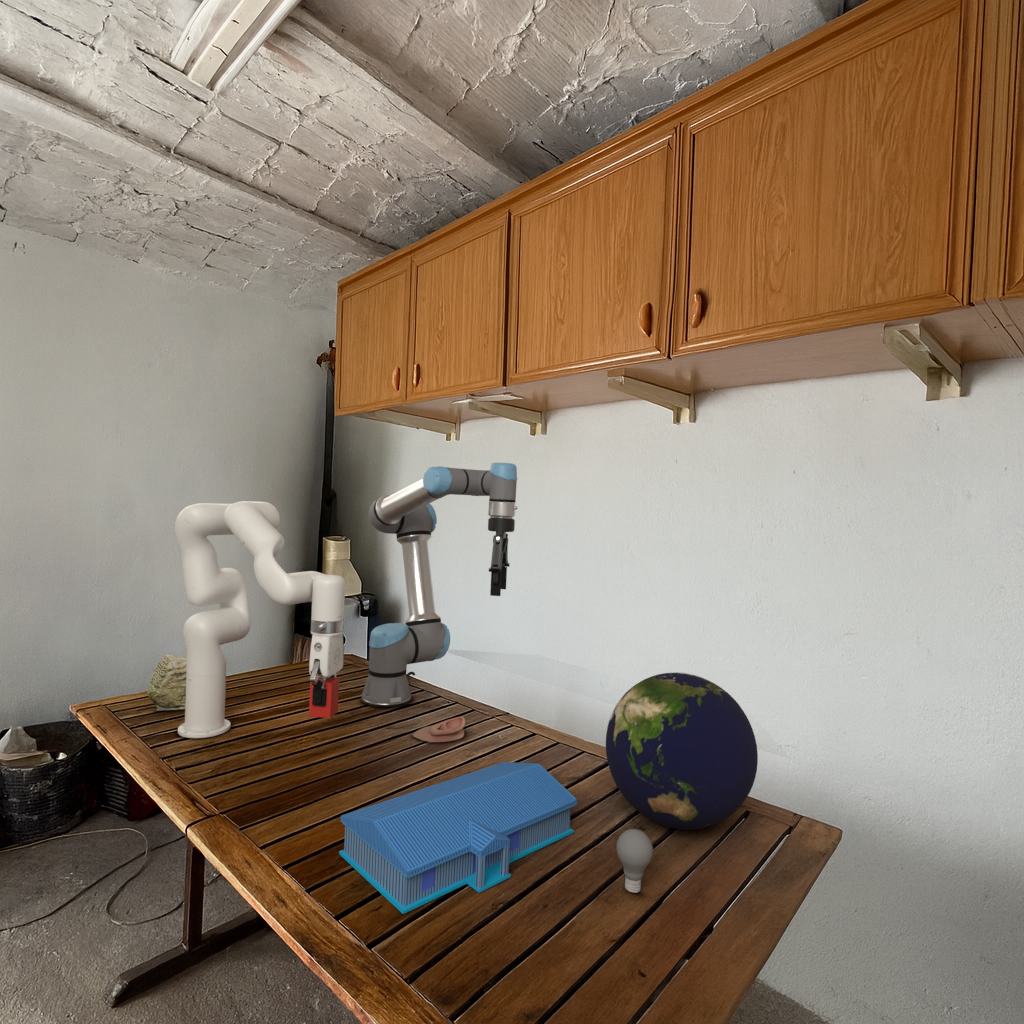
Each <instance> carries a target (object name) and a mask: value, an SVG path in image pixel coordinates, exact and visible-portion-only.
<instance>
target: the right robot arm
mask: <svg viewBox="0 0 1024 1024" xmlns="http://www.w3.org/2000/svg"><path fill="white" fill-rule="evenodd" d="M517 471H518V470H517V465H516V464H515V463H512V462H511V463H510V462H493V463H491V464H490V469H489V470H487V469H484V470H483V469H469V468H458V467H457V468H456V467H447V466H442V465H441V466H440V465H439V466H430V467H428V468H427V469H426V471H425V472H424V474H423V476H422V478H420V479H418V480H417V481H415V482H413V483H412V484H409V485H407V486H406V487H404V488H402V489H400V490H398V491H396V492H395V493H393V494H391V495H390V494H386V495H382V496H380V497H379V498H377V499H375V500H374V501H373V502H372V503H371V505H370V507H369V510H368V519H369V522H370V523H371V525H372V526H373V528H374V529H376V530H377V531H379V532H381V533H384V534H389V535H393V534H395V535H396V541H397V542H398V543H399V544H400V545H401V550H402V559H403V569H404V579H405V587H406V597H407V608H408V617H407V619H406V620H405V622H404V623H403V622H393V623H392V622H389V623H384V624H380V625H378V626H376V627H374V628H373V629H372V630H371V632H370V634H369V635H370V636H369V642H368V646H369V650H368V651H369V653H368V676H367V679H366V681H365V685H364V687H363V690H362V692H361V703H363V704H364V705H366V706H370V707H374V708H381V709H382V708H384V709H385V708H387V709H388V708H398V707H402V706H405V705H408V704H409V703H411V701H412V691H411V688H410V684H409V680H408V677H410V676H416V673H415V672H414V671H409V672H407V666H408V665H412V664H417V663H425V662H433V661H436V660H441V659H442V658H444V657H445V656H446V654H447V652H448V650H449V649H450V646H451V632H450V629H449V628H448V625H447V624H445V623H443V622H442V617H441V616H439V614H437V613H436V607H435V606H436V605H435V597H434V588H433V579H432V571H431V561H430V553H429V543H428V542H429V541H430V539H431V538H432V533H433V532H434V531H435V530H436V528H437V526H436V525H437V524H438V522H437V521H438V519H437V513H436V510H435V508H434V506H433V505H432V504H431V503H433V502H435V501H437V500H439V499H442V498H444V497H446V496H449V495H453V496H454V495H455V496H457V495H458V496H472V497H489V500H488V513H487V515H488V516H489V518H488V521H487V523H488V524H487V530H488V531H489V532H495V535H493V536H492V551H491V560H490V567H488V572H489V573H490V591H489V592H490V594H489V595H490V596H492V597H501V595H502V594H501V593H502V592H501V591H502V590H507V577H508V576H507V575H508V568H509V567H510V562H509V558H508V553H509V551H508V550H509V549H508V547H509V534H508V533H513V532H515V526H516V522H515V521H516V520H515V519H514V518H515V517H516V510H518V506H516V500H517V499H516V498H517V483H518V472H517Z"/></svg>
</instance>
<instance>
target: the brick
mask: <svg viewBox="0 0 1024 1024" xmlns="http://www.w3.org/2000/svg"><path fill="white" fill-rule="evenodd" d="M318 680H320V681H321V683H322V679H321V678H318ZM309 683H310V684H309V703H308V717H312V718H313V717H314V718H322V719H331V718H332V717H334V716H335V715H336V714H338V712H339V694H340V692H339V691H340V677H337V678H336V677H329V678H326V685H325V689H327V693H326V705H325V706H315V705H312V697H313V689H312V683H311V682H310V681H309Z"/></svg>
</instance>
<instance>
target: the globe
mask: <svg viewBox="0 0 1024 1024" xmlns="http://www.w3.org/2000/svg"><path fill="white" fill-rule="evenodd" d="M605 755H606V760H607V765H608V769H609V772H610V773H611V774H610V775H611V776H612V779H613V781H614V784H615V786H616V787H617V788H618V790H619V792H620V793H621V795H622V796H623V797H624V799H625V800H626V801H627V802H628V803H629V805H631V806H632V807H633V808H634V809H635V810H636V811H637V812H639V813H640V814H641V815H642V816H643V817H645V818H647V819H649V820H650V821H652V822H654V823H657V824H659V825H661V826H664V827H667V828H670V829H671V828H672V829H677V830H685V831H686V830H687V831H690V830H701V829H706V828H710V827H712V826H715V825H718V824H719V823H721V822H723V821H725V820H726V819H728V818H730V817H731V816H732V815H733V814H735V812H737V811H738V810H739V808H741V806H742V805H743V803H744V802H745V801H746V800H747V798H748V796H749V795H750V793H751V791H752V788H753V786H754V783H755V780H756V776H757V772H758V762H759V761H758V760H759V759H758V758H759V757H758V756H759V754H758V745H757V740H756V736H755V732H754V729H753V727H752V724H751V722H750V720H749V718H748V716H747V715H746V713H745V711H744V710H743V708H742V707H741V706H740V704H739V703H738V702H737V700H735V698H734V697H733V696H732V695H731V694H730V693H729V692H728V691H726V690H725V689H723V688H722V687H721V686H719V685H718V684H716V683H714V682H713V681H710V680H709V679H707V678H704V677H701V676H698V675H696V674H691V673H686V672H679V671H677V672H665V673H658V674H655V675H652V676H649V677H646V678H644V679H643V680H641V681H639V682H637V683H636V684H635V685H633V686H631V687H630V688H629V689H628V690H627V691H626V692H625V693H624V694H623V695H622V696H621V697H620V699H619V700H618V702H617V703H616V704H615V706H614V708H613V710H612V712H611V714H610V717H609V720H608V723H607V728H606V733H605Z"/></svg>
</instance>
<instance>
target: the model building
mask: <svg viewBox="0 0 1024 1024" xmlns="http://www.w3.org/2000/svg"><path fill="white" fill-rule="evenodd" d="M577 805H578V799H577V798H576V797H575V796H574V795H573V794H572V793H571V792H570V791H569V790H568V789H567V788H566V787H565V786H564V785H562V784H561V783H560V781H559V780H557V779H556V778H555V777H554V776H553V775H552V774H551V773H550V772H549V771H548V770H547V769H546V768H544V766H542V765H541V764H540V763H538V762H537V763H535V762H534V763H533V762H510V761H509V762H508V761H502V762H500V763H496V764H494V765H490V766H487V767H485V768H481V769H479V770H476V771H475V770H474V771H472V772H469V773H466V774H463V775H459V776H458V777H454V778H451V779H448V780H444V781H442V782H439V783H436V784H432V785H429V786H427V787H424V788H421V789H417V790H414V791H412V792H409V793H406V794H403V795H399V796H395V797H393V798H391V799H387V800H383V801H382V802H378V803H375V804H372V805H369V806H366V807H362V808H360V809H357V810H353V811H351V812H348V813H345V814H342V815H340V822H341V823H342V825H344V846H343V849H342V850H339V851H338V855H339V856H340V857H341V858H343V859H344V860H345V862H347V864H349V865H350V866H351V867H352V868H353V869H354V870H355V871H357V872H358V873H359V874H360V875H361V876H362V878H364V879H365V881H367V882H368V883H369V884H370V885H371V886H372V887H373V888H374V889H375V890H376V891H377V892H379V893H380V894H381V895H382V896H383V897H384V898H385V899H386V900H387V901H388V902H389V903H390V904H392V906H393V907H395V908H396V909H397V910H398V911H399V912H400V913H401V914H402V915H405V914H407V913H409V912H411V911H413V910H415V909H417V908H419V907H422V906H423V905H426V904H427V903H430V902H432V901H434V900H436V899H439V898H440V897H443V896H444V895H446V894H449V893H451V892H453V891H455V890H457V889H459V888H461V887H463V886H465V885H468V886H469V887H471V888H472V889H473V890H474V891H476V892H477V893H478V894H480V893H483V892H484V891H486V890H489V889H490V888H492V887H494V886H497V885H498V884H500V883H502V882H505V881H506V880H508V879H510V878H511V877H512V874H511V873H509V869H510V868H509V866H510V864H511V863H514V862H515V861H519V860H520V859H521V858H524V857H526V856H528V855H531V854H533V853H535V852H537V851H539V850H541V849H543V848H545V847H547V846H549V845H551V844H553V843H555V842H557V841H560V840H562V839H564V838H566V837H568V836H570V835H573V834H574V833H575V830H574V829H572V827H571V808H573V807H575V806H577Z"/></svg>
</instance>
